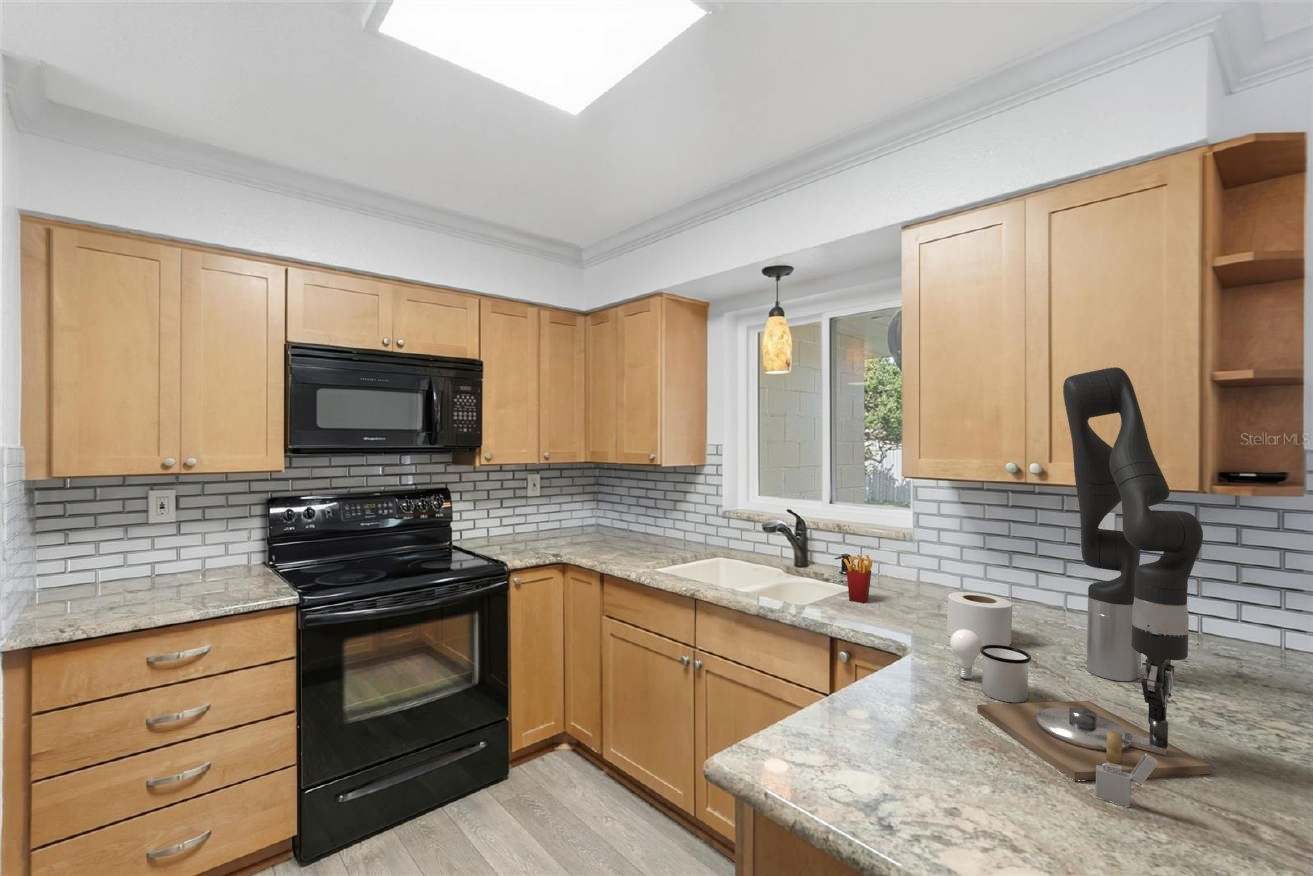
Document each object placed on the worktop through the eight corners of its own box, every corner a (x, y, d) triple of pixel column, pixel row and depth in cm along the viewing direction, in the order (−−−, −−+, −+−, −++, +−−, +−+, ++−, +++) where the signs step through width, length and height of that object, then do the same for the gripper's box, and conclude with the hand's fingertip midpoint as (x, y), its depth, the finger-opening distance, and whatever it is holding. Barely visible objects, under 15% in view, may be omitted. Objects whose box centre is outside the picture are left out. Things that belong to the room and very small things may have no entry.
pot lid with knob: (1032, 733, 108) (1033, 705, 108) (1040, 706, 119) (1041, 681, 119) (1170, 770, 96) (1171, 739, 96) (1165, 736, 108) (1165, 708, 108)
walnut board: (1088, 708, 122) (1089, 678, 122) (1210, 774, 98) (1210, 737, 98) (977, 712, 120) (977, 682, 120) (1074, 781, 96) (1075, 743, 96)
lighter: (1095, 798, 91) (1096, 745, 91) (1095, 792, 93) (1096, 740, 93) (1156, 815, 87) (1157, 760, 87) (1155, 809, 89) (1156, 755, 89)
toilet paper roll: (998, 631, 171) (999, 593, 171) (1021, 650, 156) (1022, 608, 156) (939, 627, 174) (940, 589, 174) (956, 645, 158) (957, 604, 158)
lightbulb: (985, 685, 133) (986, 635, 133) (953, 682, 134) (954, 633, 134) (976, 674, 139) (976, 626, 139) (946, 672, 140) (947, 624, 140)
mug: (1023, 709, 121) (1024, 664, 121) (972, 694, 128) (973, 651, 128) (1039, 692, 130) (1039, 649, 130) (990, 679, 137) (991, 638, 136)
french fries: (866, 604, 196) (867, 558, 196) (840, 600, 201) (841, 554, 200) (873, 598, 203) (874, 553, 203) (848, 594, 208) (849, 550, 208)
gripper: (1140, 613, 112) (1138, 706, 112) (1123, 628, 103) (1120, 729, 104) (1194, 623, 106) (1192, 721, 107) (1181, 640, 98) (1178, 747, 98)
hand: (1157, 725), depth 105 cm, fingers closed
